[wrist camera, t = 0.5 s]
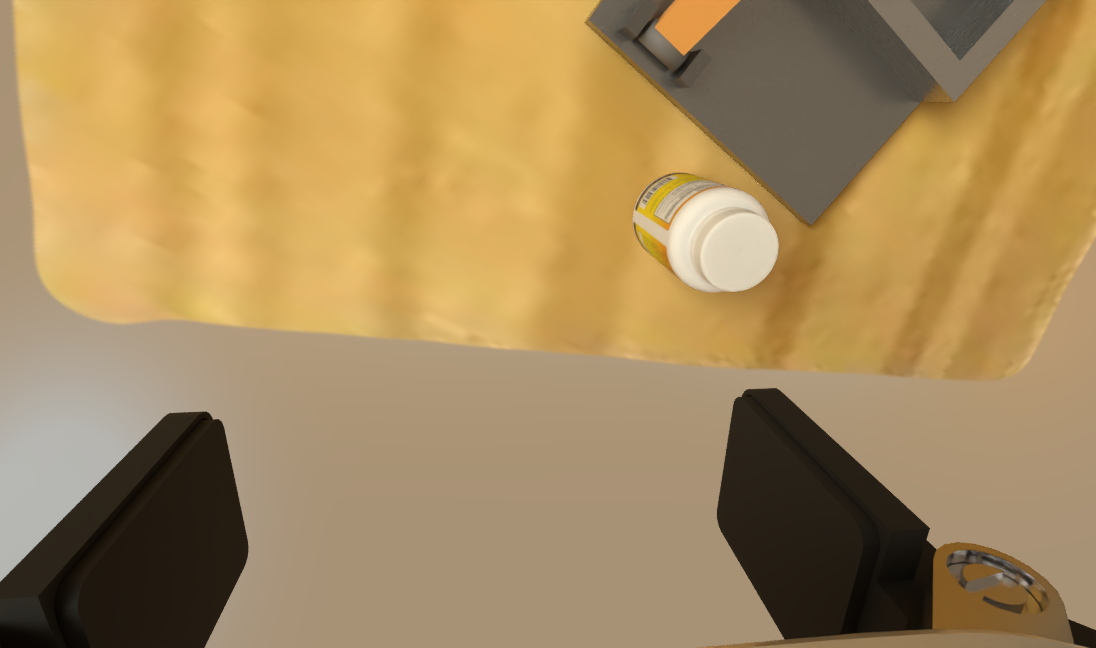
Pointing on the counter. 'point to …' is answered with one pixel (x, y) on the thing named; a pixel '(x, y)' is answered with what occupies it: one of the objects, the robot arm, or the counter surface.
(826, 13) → the hitch plate
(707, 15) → the keeper bar
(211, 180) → the counter surface
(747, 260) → the supplement bottle
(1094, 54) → the counter surface
